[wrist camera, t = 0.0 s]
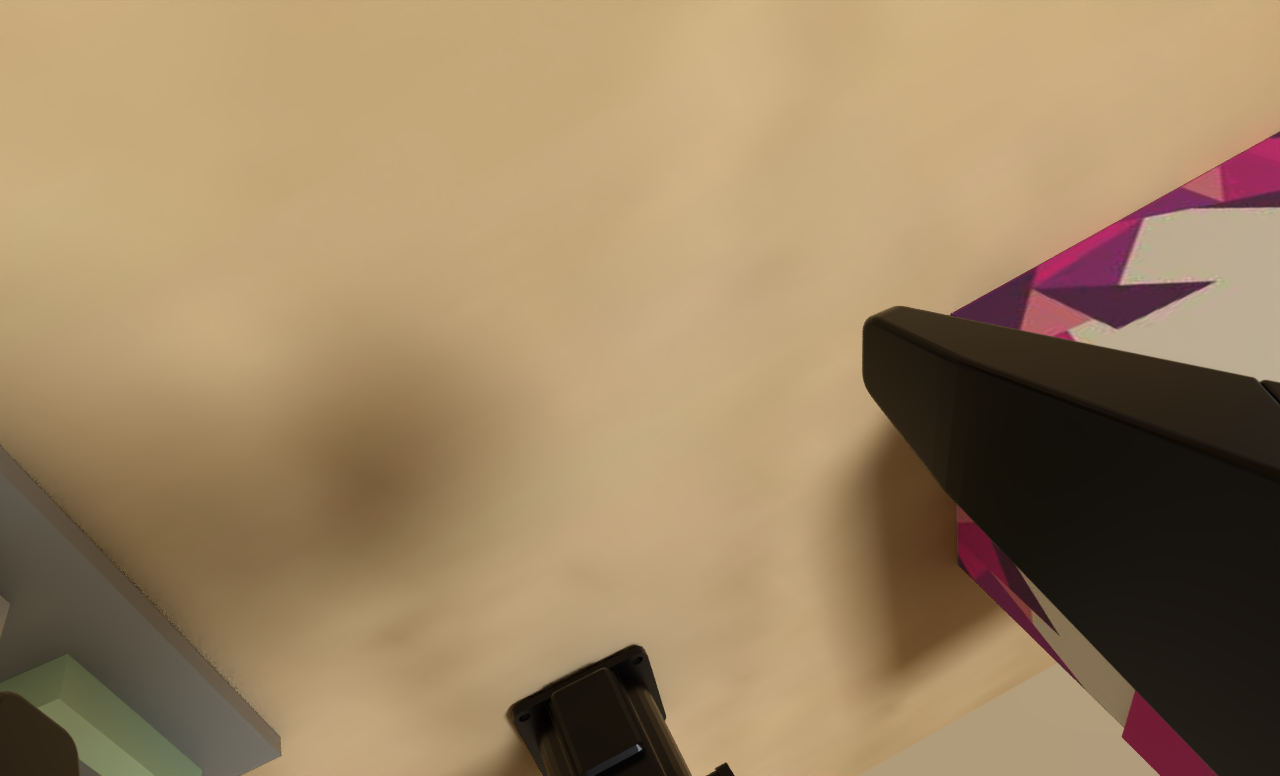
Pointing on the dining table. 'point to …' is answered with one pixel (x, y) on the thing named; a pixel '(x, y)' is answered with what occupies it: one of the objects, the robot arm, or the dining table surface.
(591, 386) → the dining table surface
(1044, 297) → the decorative box
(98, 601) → the panel
